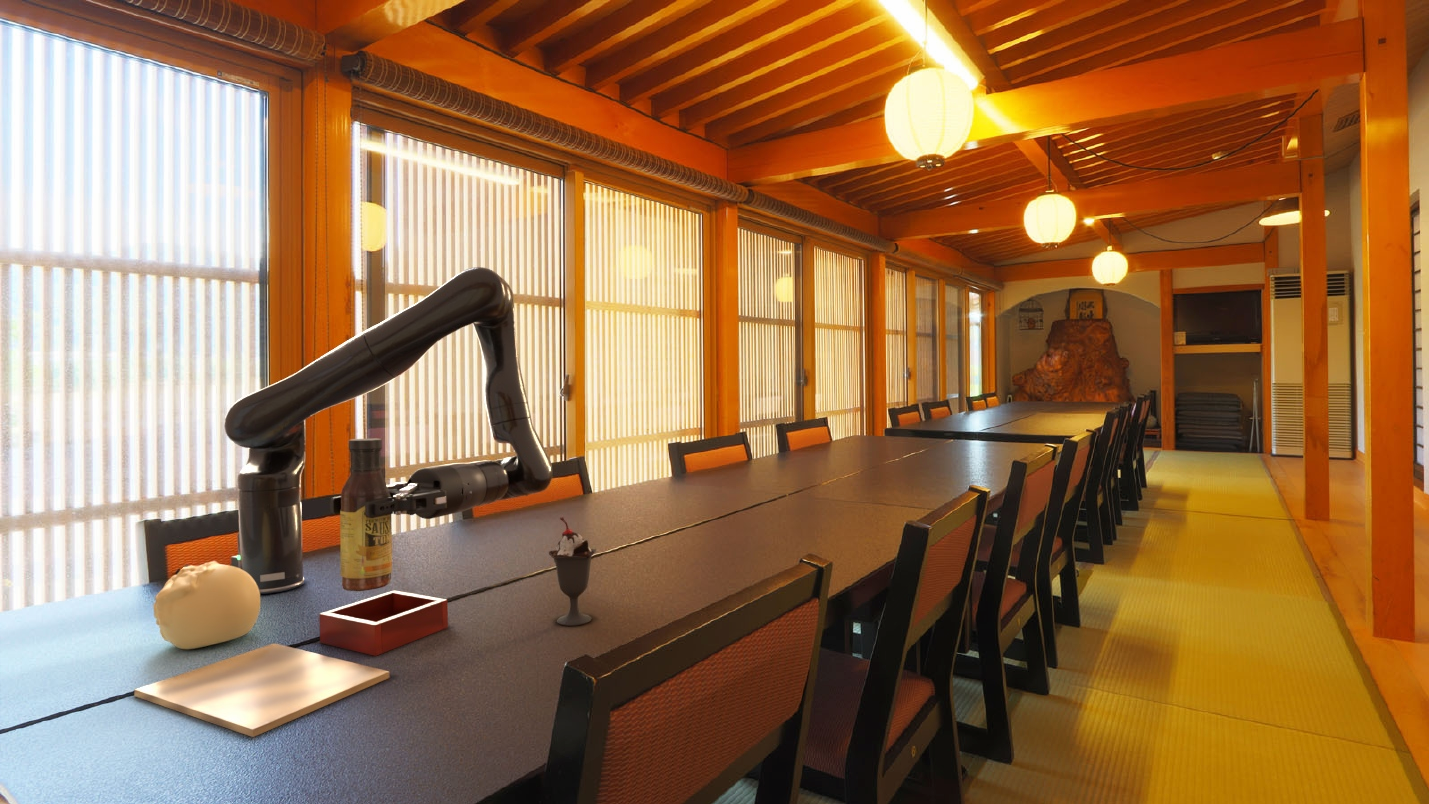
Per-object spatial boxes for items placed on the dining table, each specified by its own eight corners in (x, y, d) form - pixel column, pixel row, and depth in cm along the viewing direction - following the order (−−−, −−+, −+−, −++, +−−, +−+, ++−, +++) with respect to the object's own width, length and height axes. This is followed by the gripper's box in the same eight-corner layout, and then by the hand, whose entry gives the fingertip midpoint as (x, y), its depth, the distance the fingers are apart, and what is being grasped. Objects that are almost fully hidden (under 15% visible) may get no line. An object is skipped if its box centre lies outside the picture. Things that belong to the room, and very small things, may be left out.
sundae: (553, 614, 110) (551, 514, 109) (598, 612, 111) (597, 513, 110) (547, 629, 103) (545, 523, 103) (595, 627, 104) (593, 521, 103)
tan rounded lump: (168, 634, 103) (165, 558, 103) (267, 622, 108) (265, 549, 107) (142, 663, 92) (139, 578, 92) (253, 648, 97) (250, 567, 97)
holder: (319, 643, 99) (318, 613, 99) (394, 616, 110) (393, 590, 109) (375, 656, 94) (374, 625, 94) (448, 627, 105) (447, 599, 105)
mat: (134, 696, 83) (133, 689, 83) (274, 649, 97) (274, 643, 97) (253, 737, 73) (252, 729, 73) (389, 678, 87) (389, 671, 87)
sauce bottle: (372, 594, 95) (368, 441, 94) (330, 592, 96) (325, 441, 95) (403, 580, 101) (399, 437, 101) (363, 578, 103) (358, 436, 102)
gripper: (413, 462, 114) (312, 476, 99) (482, 466, 108) (386, 482, 93) (414, 510, 115) (314, 531, 100) (484, 517, 108) (388, 541, 93)
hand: (349, 508), depth 96 cm, fingers closed on sauce bottle, 6 cm apart
